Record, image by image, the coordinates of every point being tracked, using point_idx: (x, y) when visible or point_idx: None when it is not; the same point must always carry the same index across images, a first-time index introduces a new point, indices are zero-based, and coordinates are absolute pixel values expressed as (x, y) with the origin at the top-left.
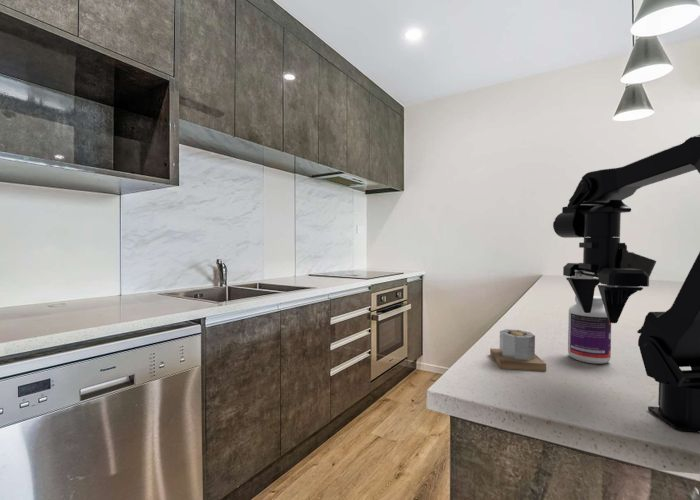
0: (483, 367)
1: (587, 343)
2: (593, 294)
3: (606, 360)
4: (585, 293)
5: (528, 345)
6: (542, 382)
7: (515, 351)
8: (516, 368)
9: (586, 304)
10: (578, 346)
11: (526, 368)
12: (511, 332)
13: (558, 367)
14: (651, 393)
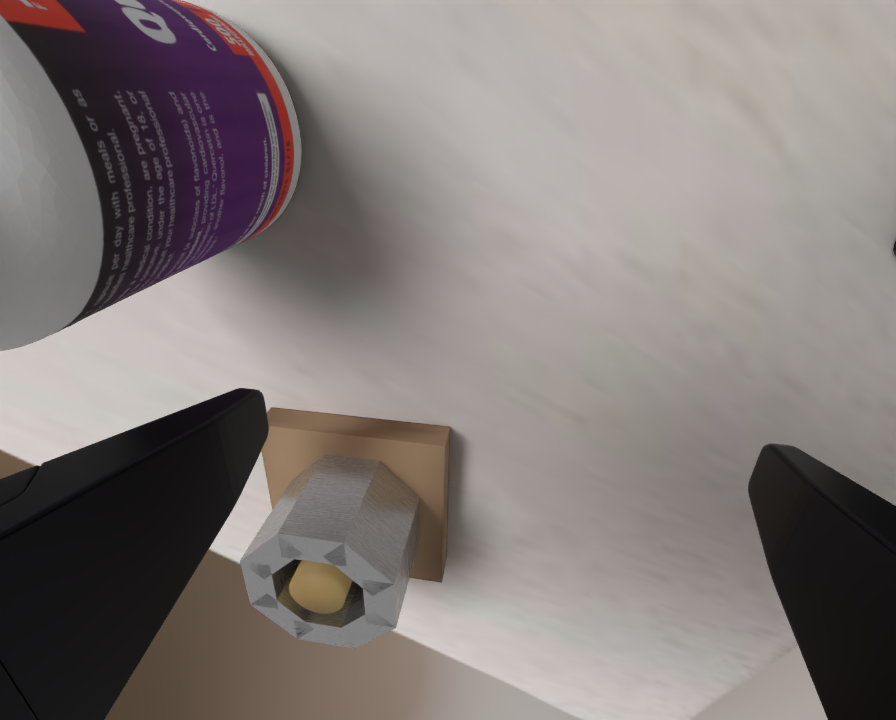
0: (443, 598)
1: (245, 213)
2: (69, 503)
3: (279, 76)
4: (100, 603)
5: (403, 550)
6: (575, 490)
7: (412, 565)
8: (446, 519)
9: (215, 480)
10: (235, 241)
11: (446, 492)
12: (310, 609)
13: (389, 356)
14: (710, 87)
